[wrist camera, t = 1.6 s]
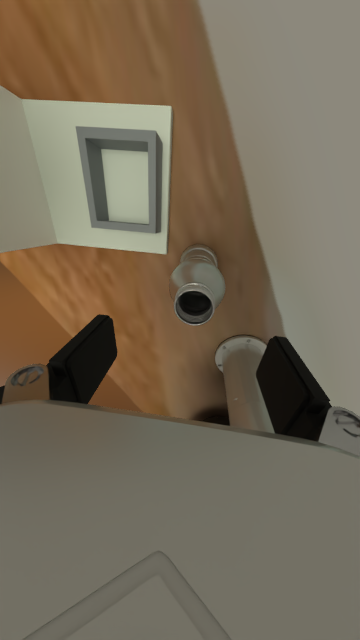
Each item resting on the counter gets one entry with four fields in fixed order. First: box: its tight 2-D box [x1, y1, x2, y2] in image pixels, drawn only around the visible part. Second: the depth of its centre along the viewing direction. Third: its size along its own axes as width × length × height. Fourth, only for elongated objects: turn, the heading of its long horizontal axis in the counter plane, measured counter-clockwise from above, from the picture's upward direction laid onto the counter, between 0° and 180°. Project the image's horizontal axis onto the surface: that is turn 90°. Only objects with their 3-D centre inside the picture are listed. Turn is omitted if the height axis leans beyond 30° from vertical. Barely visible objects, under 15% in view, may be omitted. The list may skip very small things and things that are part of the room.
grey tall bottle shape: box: [169, 244, 225, 325], centre depth 24 cm, size 6×7×20 cm
